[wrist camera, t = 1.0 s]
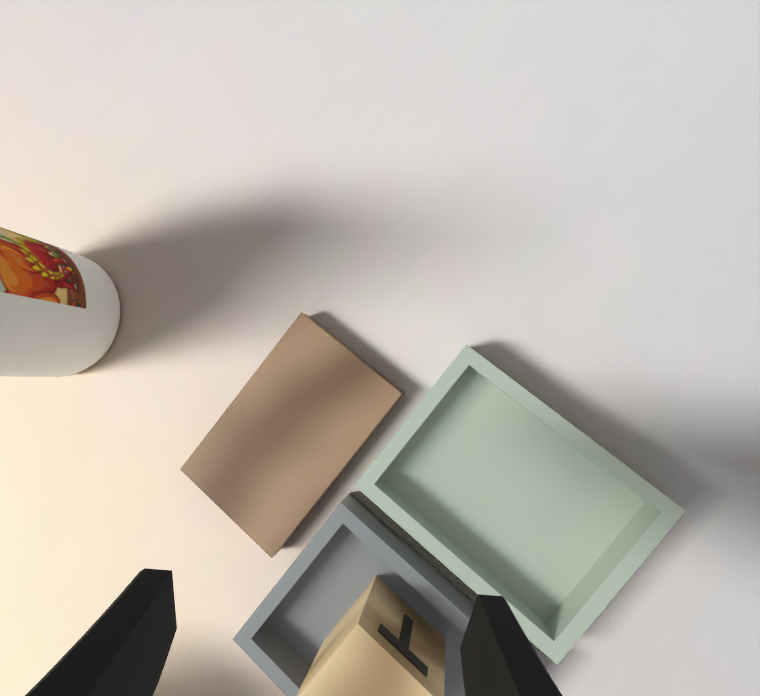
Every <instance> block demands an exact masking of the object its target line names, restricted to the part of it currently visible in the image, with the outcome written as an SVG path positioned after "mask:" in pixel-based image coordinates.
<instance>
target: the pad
mask: <svg viewBox="0 0 760 696" xmlns="http://www.w3.org/2000/svg"><path fill="white" fill-rule="evenodd" d="M403 394H404V393H403V392H402V391H401V390H399V389H398V388H397V387H396V386H394V385H393V384H392V383H391V382H389V381H388V380H387V379H386V378H385V377H383V376H382V375H381V374H380V373H378V372H377V371H376V370H375V369H373V368H372V367H371V366H370V365H368V364H367V363H366V362H365V361H364V360H362V359H361V358H360V357H359V356H357V355H356V354H355V353H354V352H352V351H351V350H350V349H349V348H347V347H346V346H345V345H344V344H343V343H341V342H340V341H339V340H338V339H336V338H335V337H334V336H333V335H331V334H330V333H329V332H328V331H326V330H325V329H324V328H323V327H322V326H320V325H319V324H318V323H317V322H315V321H314V320H313V319H312V318H310V317H309V316H307V315H305V314H303V313H301V314H300V315H299V316H298V317H297V319H296V320H295V321H294V323H293V324H292V325H291V327H290V328H289V329H288V330H287V332H286V333H285V334H284V336H283V337H282V338H281V340H280V341H279V342H278V343H277V345H276V346H275V347H274V349H273V350H272V351H271V352H270V354H269V355H268V356H267V358H266V359H265V360H264V362H263V363H262V364H261V365H260V367H259V368H258V369H257V371H256V372H255V373H254V374H253V376H252V377H251V378H250V380H249V381H248V382H247V384H246V385H245V386H244V387H243V389H242V390H241V391H240V393H239V394H238V395H237V396H236V398H235V399H234V400H233V402H232V403H231V404H230V406H229V407H228V408H227V409H226V411H225V412H224V413H223V415H222V416H221V417H220V418H219V420H218V421H217V422H216V424H215V425H214V426H213V428H212V429H211V430H210V431H209V433H208V434H207V435H206V437H205V438H204V439H203V440H202V442H201V443H200V444H199V446H198V447H197V448H196V450H195V451H194V452H193V453H192V455H191V456H190V457H189V459H188V460H187V461H186V462H185V464H184V465H183V466H182V468H181V469H180V470H181V471H182V472H183V473H184V474H185V475H187V476H188V477H189V478H190V479H191V480H192V481H193V482H194V483H195V484H196V485H197V486H198V487H199V488H200V489H201V490H202V491H203V492H204V493H205V494H206V495H207V496H208V497H209V498H210V499H211V500H212V501H213V502H214V503H215V504H216V505H217V506H219V507H220V508H221V509H222V510H223V511H224V512H225V513H226V514H227V515H228V516H229V517H230V518H231V519H232V520H233V521H234V522H235V523H236V524H237V525H238V526H239V527H240V528H241V529H242V530H243V531H244V532H245V533H246V534H247V535H248V536H249V537H250V538H252V539H253V540H254V541H255V542H256V543H257V544H258V545H259V546H260V547H261V548H262V549H263V550H264V551H265V552H266V553H267V554H268V555H269V556H270V557H271V558H272V557H273V556H274V555H275V554H276V553H277V552H278V551H279V550H280V549H281V548H282V547H283V546H284V544H285V543H286V542H287V541H288V539H289V538H290V537H291V536H292V534H293V533H294V532H295V531H296V529H297V528H298V527H299V525H300V524H301V523H302V522H303V520H304V519H305V518H306V517H307V515H308V514H309V513H310V512H311V510H312V509H313V508H314V506H315V505H316V504H317V503H318V501H319V500H320V499H321V498H322V496H323V495H324V494H325V493H326V491H327V490H328V489H329V488H330V486H331V485H332V484H333V482H334V481H335V480H336V479H337V477H338V476H339V475H340V474H341V472H342V471H343V470H344V469H345V467H346V466H347V465H348V463H349V462H350V461H351V460H352V458H353V457H354V456H355V455H356V453H357V452H358V451H359V450H360V448H361V447H362V446H363V445H364V443H365V442H366V441H367V439H368V438H369V437H370V436H371V434H372V433H373V432H374V431H375V429H376V428H377V427H378V426H379V424H380V423H381V422H382V421H383V419H384V418H385V417H386V415H387V414H388V413H389V412H390V410H391V409H392V408H393V407H394V405H395V404H396V403H397V402H398V400H399V399H400V398H401V396H402V395H403Z"/></svg>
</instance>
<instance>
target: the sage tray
mask: <svg viewBox="0 0 760 696" xmlns="http://www.w3.org/2000/svg"><path fill="white" fill-rule="evenodd" d="M355 487H356V488H358V489H359V490H360V491H361V492H362V493H363V494H364V495H365V496H367V497H368V498H369V499H370V500H371V501H372V502H373V503H375V504H376V505H377V506H378V507H379V508H380V509H381V510H382V511H384V512H385V513H386V514H387V515H388V516H389V517H390V518H391V519H393V520H394V521H395V522H396V523H397V524H398V525H399V526H401V527H402V528H403V529H404V530H405V531H406V532H407V533H408V534H410V535H411V536H412V537H413V538H414V539H415V540H416V541H418V542H419V543H420V544H421V545H422V546H423V547H424V548H425V549H427V550H428V551H429V552H430V553H431V554H432V555H433V556H434V557H436V558H437V559H438V560H439V561H440V562H441V563H442V564H444V565H445V566H446V567H447V568H448V569H449V570H450V571H451V572H453V573H454V574H455V575H456V576H457V577H458V578H459V579H461V580H462V581H463V582H464V583H465V584H466V585H467V586H468V587H470V588H471V589H472V590H473V591H474V592H475V593H476V594H477V595H478V594H481V595H494V596H503V597H504V598H505V600H506V601H507V603H508V605H509V607H510V608H511V610H512V612H513V614H514V615H515V617H516V619H517V621H518V623H519V624H520V626H521V628H522V630H523V631H524V633H525V635H526V636H527V638H528V640H530V641H531V642H532V643H533V644H534V645H535V646H536V647H537V648H539V649H540V650H541V651H542V652H543V653H544V654H545V655H547V656H548V657H549V658H550V659H551V660H552V661H553V662H554V663H556V664H557V665H558V664H559V662H560V661H561V660H562V659H563V658H564V656H565V655H566V654H567V653H568V652H569V650H570V649H571V648H572V647H573V646H574V644H575V643H576V642H577V641H578V640H579V638H580V637H581V636H582V635H583V634H584V632H585V631H586V630H587V629H588V628H589V626H590V625H591V624H592V623H593V622H594V620H595V619H596V618H597V617H598V616H599V614H600V613H601V612H602V611H603V610H604V608H605V607H606V606H607V605H608V604H609V602H610V601H611V600H612V599H613V598H614V596H615V595H616V594H617V593H618V592H619V590H620V589H621V588H622V587H623V586H624V584H625V583H626V582H627V581H628V580H629V578H630V577H631V576H632V575H633V574H634V572H635V571H636V570H637V569H638V568H639V566H640V565H641V564H642V563H643V562H644V560H645V559H646V558H647V557H648V556H649V554H650V553H651V552H652V551H653V550H654V548H655V547H656V546H657V545H658V544H659V542H660V541H661V540H662V539H663V538H664V536H665V535H666V534H667V533H668V532H669V530H670V529H671V528H672V527H673V526H674V524H675V523H676V522H677V521H678V520H679V518H680V517H681V516H682V515H683V514H684V512H685V511H686V510H684V509H683V508H682V507H680V506H679V505H678V504H676V503H675V502H674V501H673V500H671V499H670V498H669V497H667V496H666V495H665V494H663V493H662V492H661V491H659V490H658V489H657V488H655V487H654V486H653V485H651V484H650V483H649V482H647V481H646V480H645V479H643V478H642V477H641V476H639V475H638V474H637V473H636V472H634V471H633V470H632V469H630V468H629V467H628V466H626V465H625V464H624V463H622V462H621V461H620V460H618V459H617V458H616V457H614V456H613V455H612V454H610V453H609V452H608V451H606V450H605V449H604V448H603V447H601V446H600V445H599V444H597V443H596V442H595V441H593V440H592V439H591V438H589V437H588V436H587V435H585V434H584V433H583V432H581V431H580V430H579V429H577V428H576V427H575V426H573V425H572V424H571V423H569V422H568V421H567V420H566V419H564V418H563V417H562V416H560V415H559V414H558V413H556V412H555V411H554V410H552V409H551V408H550V407H548V406H547V405H546V404H544V403H543V402H542V401H540V400H539V399H538V398H536V397H535V396H534V395H533V394H531V393H530V392H529V391H527V390H526V389H525V388H523V387H522V386H521V385H519V384H518V383H517V382H515V381H514V380H513V379H511V378H510V377H509V376H507V375H506V374H505V373H503V372H502V371H501V370H499V369H498V368H497V367H496V366H494V365H493V364H492V363H490V362H489V361H488V360H486V359H485V358H484V357H482V356H481V355H480V354H478V353H477V352H476V351H474V350H473V349H472V348H470V347H469V346H468V345H466V346H465V347H464V348H463V350H462V351H461V352H460V353H459V355H458V356H457V357H456V358H455V360H454V361H453V362H452V363H451V365H450V366H449V367H448V368H447V370H446V371H445V372H444V373H443V375H442V376H441V377H440V379H439V380H438V381H437V382H436V384H435V385H434V386H433V387H432V389H431V390H430V391H429V392H428V394H427V395H426V396H425V397H424V399H423V400H422V401H421V402H420V404H419V405H418V406H417V407H416V409H415V410H414V411H413V413H412V414H411V415H410V416H409V418H408V419H407V420H406V421H405V423H404V424H403V425H402V426H401V428H400V429H399V430H398V431H397V433H396V434H395V435H394V436H393V438H392V439H391V440H390V442H389V443H388V444H387V445H386V447H385V448H384V449H383V450H382V452H381V453H380V454H379V455H378V457H377V458H376V459H375V460H374V462H373V463H372V464H371V465H370V467H369V468H368V469H367V470H366V472H365V473H364V474H363V476H362V477H361V478H360V479H359V481H358V482H357V483H356V484H355Z"/></svg>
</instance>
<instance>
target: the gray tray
mask: <svg viewBox="0 0 760 696" xmlns="http://www.w3.org/2000/svg"><path fill="white" fill-rule="evenodd" d="M376 575H377V576H378V577H379V578H380V579H381V580H382V581H383V582H384V583H385V584H386V585H387V586H389V587H390V588H391V589H392V590H393V591H394V592H395V593H396V594H397V595H398V596H399V597H400V598H402V599H403V600H404V601H405V602H406V603H407V604H408V605H409V606H410V607H411V608H412V609H413V610H415V611H416V612H417V613H418V614H419V615H420V616H421V617H422V618H423V619H424V620H425V621H426V622H428V623H429V624H430V625H431V626H432V627H433V628H434V629H435V630H436V631H437V632H438V633H439V634H441V635H442V636H443V637H444V638H445V680H444V696H465V689H464V681H463V672H462V662H461V653H460V646H461V643H462V640H463V637H464V634H465V631H466V628H467V625H468V623H469V620H470V617H471V614H472V611H473V608H474V605H475V603H474V602H473V601H471V600H470V599H469V598H468V597H467V596H466V595H465V594H464V593H462V592H461V591H460V590H459V589H458V588H457V587H456V586H455V585H453V584H452V583H451V582H450V581H449V580H448V579H447V578H446V577H444V576H443V575H442V574H441V573H440V572H439V571H438V570H437V569H435V568H434V567H433V566H432V565H431V564H430V563H429V562H428V561H426V560H425V559H424V558H423V557H422V556H421V555H420V554H419V553H417V552H416V551H415V550H414V549H413V548H412V547H411V546H410V545H408V544H407V543H406V542H405V541H404V540H403V539H402V538H401V537H399V536H398V535H397V534H396V533H395V532H394V531H393V530H392V529H391V528H389V527H388V526H387V525H386V524H385V523H384V522H383V521H382V520H380V519H379V518H378V517H377V516H376V515H375V514H374V513H373V512H371V511H370V510H369V509H368V508H367V507H366V506H365V505H364V504H362V503H361V502H360V501H359V500H358V499H357V498H356V497H355V496H353V495H352V494H351V493H349V494H348V496H347V497H346V498H345V499H344V500H343V501H342V502H341V503H340V505H339V506H338V507H337V508H336V510H335V511H334V512H333V513H332V515H331V516H330V517H329V518H328V520H327V521H326V522H325V523H324V525H323V526H322V527H321V528H320V530H319V531H318V532H317V534H316V535H315V536H314V537H313V539H312V540H311V541H310V542H309V544H308V545H307V546H306V547H305V549H304V550H303V551H302V552H301V554H300V555H299V556H298V557H297V559H296V560H295V561H294V562H293V564H292V565H291V566H290V568H289V569H288V570H287V571H286V573H285V574H284V575H283V576H282V578H281V579H280V580H279V581H278V583H277V584H276V585H275V586H274V588H273V589H272V590H271V591H270V593H269V594H268V595H267V597H266V598H265V599H264V600H263V602H262V603H261V604H260V605H259V607H258V608H257V609H256V610H255V612H254V613H253V614H252V615H251V617H250V618H249V619H248V620H247V622H246V623H245V624H244V625H243V627H242V628H241V629H240V631H239V632H238V633H237V634H236V636H235V637H234V638H233V640H234V641H235V642H236V643H237V644H238V645H239V646H240V647H241V648H242V650H243V651H244V652H245V653H246V654H247V655H248V656H249V657H250V658H251V659H252V660H253V661H254V662H255V663H256V664H257V665H258V666H259V667H260V668H261V669H262V670H263V671H264V672H265V673H266V674H267V676H268V677H269V678H270V679H271V680H272V681H273V682H274V683H275V684H276V685H277V686H278V687H279V688H280V689H281V690H282V691H283V692H284V693H285V694H286V695H287V696H297V694H298V692H299V690H300V687H301V685H302V683H303V681H304V679H305V677H306V675H307V673H308V671H309V669H310V667H311V665H312V663H313V661H314V659H315V657H316V655H317V653H318V651H319V649H320V647H321V645H322V643H323V641H324V640H325V638H326V637H327V636H328V635H329V633H330V632H331V631H332V630H333V628H334V627H335V626H336V625H337V623H338V622H339V621H340V620H341V619H342V617H343V616H344V615H345V614H346V612H347V611H348V610H349V609H350V607H351V606H352V605H353V604H354V602H355V601H356V600H357V599H358V597H359V596H360V595H361V594H362V592H363V591H364V590H365V589H366V587H367V586H368V585H369V584H370V582H371V581H372V580H373V579H374V577H375V576H376Z"/></svg>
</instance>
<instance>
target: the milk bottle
mask: <svg viewBox="0 0 760 696" xmlns="http://www.w3.org/2000/svg"><path fill="white" fill-rule="evenodd" d="M119 320H120V301H119V297H118V292H117V290H116V288H115V285H114V283H113V281H112V280H111V279H110V277H109V276H108V274H107V273H106V272H105V271H104V270H103V269H102V268H101V267H100V266H99V265H98V264H96V263H95V262H94V261H92V260H90V259H88V258H86V257H83V256H81V255H78V254H75V253H73V252H70V251H67V250H64V249H61V248H59V247H56V246H53V245H50V244H47V243H44V242H41V241H39V240H36V239H33V238H30V237H27V236H24V235H21V234H18V233H15V232H12V231H10V230H7V229H4V228H1V227H0V376H20V377H60V376H69V375H73V374H76V373H78V372H81V371H83V370H85V369H87V368H88V367H90V366H91V365H93V364H95V363H96V362H97V361H98V360H99V359H100V358H101V357H103V356H104V354H105V353H106V351H107V350H108V349H109V348H110V346H111V344H112V342H113V340H114V338H115V336H116V333H117V330H118V327H119Z"/></svg>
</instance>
